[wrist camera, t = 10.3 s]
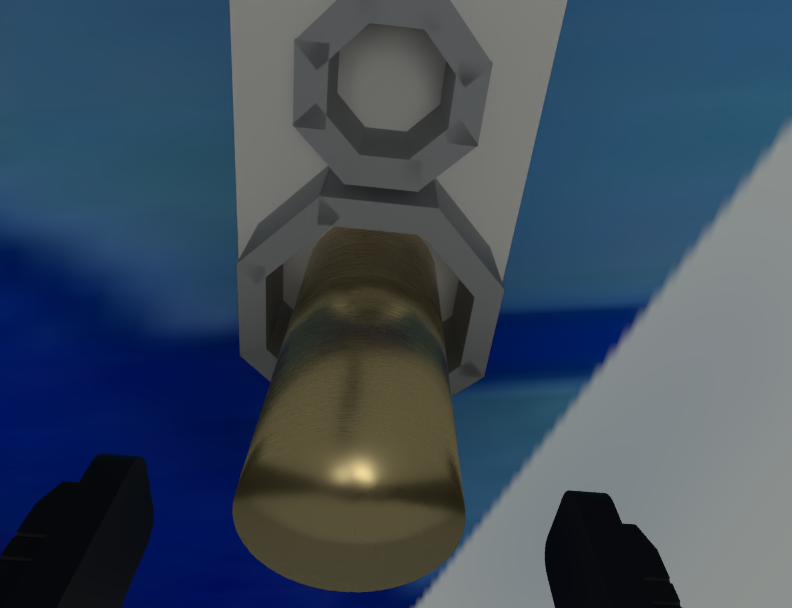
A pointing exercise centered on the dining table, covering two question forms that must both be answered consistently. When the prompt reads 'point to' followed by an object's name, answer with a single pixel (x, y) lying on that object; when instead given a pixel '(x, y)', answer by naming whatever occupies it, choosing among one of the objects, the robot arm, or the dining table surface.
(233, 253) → the dining table surface
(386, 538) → the brass cylinder
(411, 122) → the grey mounting plate
